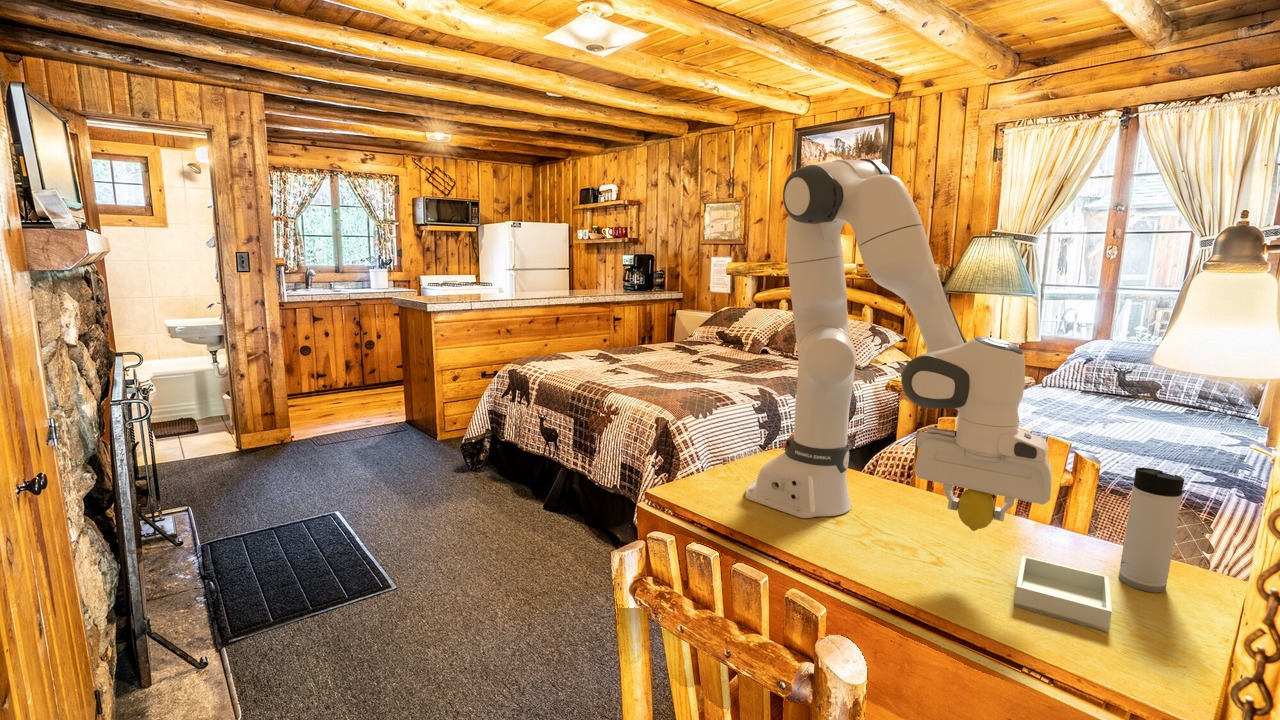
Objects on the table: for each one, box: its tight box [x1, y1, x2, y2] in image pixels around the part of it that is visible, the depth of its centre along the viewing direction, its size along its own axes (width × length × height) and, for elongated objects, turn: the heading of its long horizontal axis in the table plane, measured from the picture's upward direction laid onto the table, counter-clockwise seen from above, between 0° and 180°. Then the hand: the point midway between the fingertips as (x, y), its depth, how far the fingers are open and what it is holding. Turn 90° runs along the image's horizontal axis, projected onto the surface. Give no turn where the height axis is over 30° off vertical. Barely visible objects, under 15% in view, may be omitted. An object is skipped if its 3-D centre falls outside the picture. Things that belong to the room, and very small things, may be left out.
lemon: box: [957, 488, 996, 532], centre depth 107 cm, size 6×6×8 cm
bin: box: [1013, 554, 1113, 634], centre depth 100 cm, size 12×12×3 cm
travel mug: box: [1118, 467, 1185, 593], centre depth 104 cm, size 6×7×20 cm
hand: (975, 514), depth 107 cm, fingers closed on lemon, 5 cm apart
